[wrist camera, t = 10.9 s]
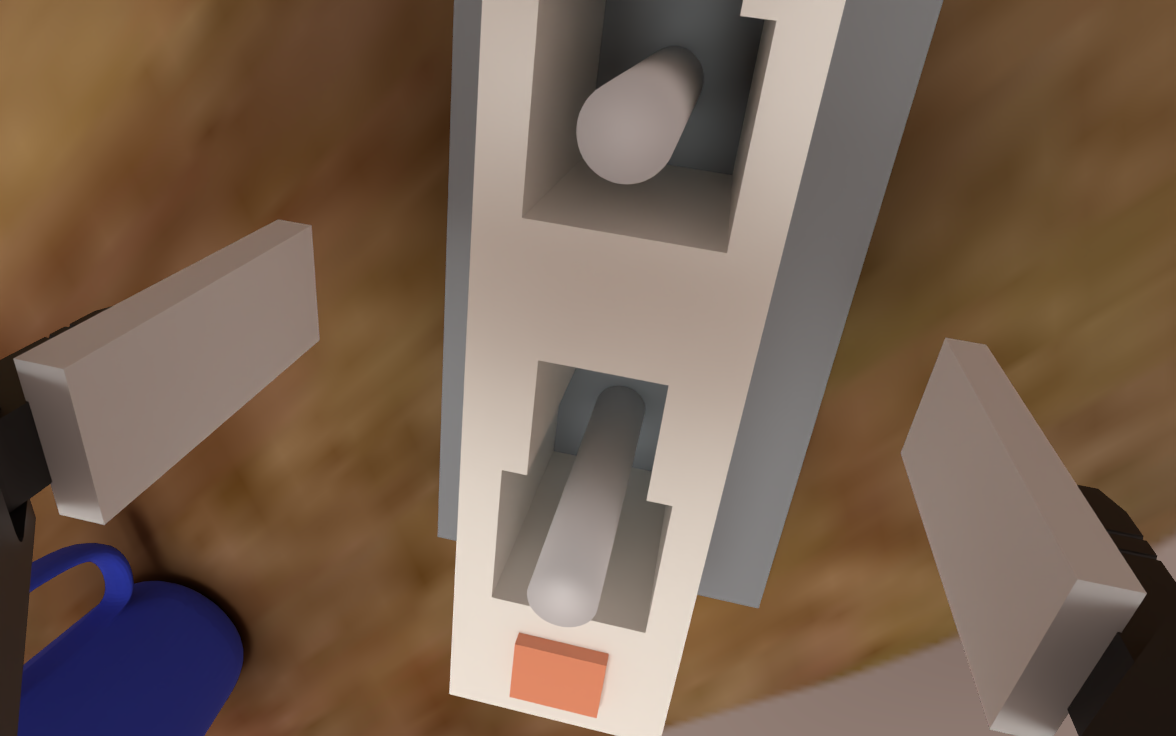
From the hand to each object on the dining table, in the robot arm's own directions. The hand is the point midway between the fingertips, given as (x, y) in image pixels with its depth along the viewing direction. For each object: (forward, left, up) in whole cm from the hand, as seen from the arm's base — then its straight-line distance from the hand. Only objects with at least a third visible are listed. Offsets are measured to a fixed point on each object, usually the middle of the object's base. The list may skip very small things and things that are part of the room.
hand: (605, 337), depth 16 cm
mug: (+20, -19, -8) cm, 29 cm away
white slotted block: (+1, 0, -7) cm, 7 cm away
